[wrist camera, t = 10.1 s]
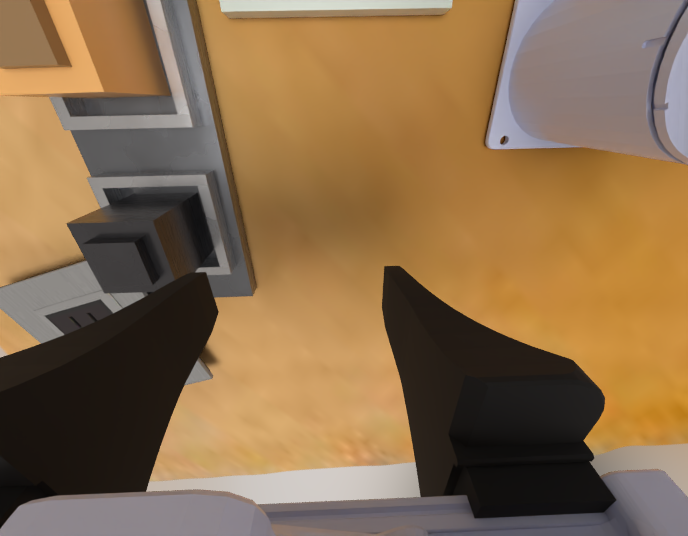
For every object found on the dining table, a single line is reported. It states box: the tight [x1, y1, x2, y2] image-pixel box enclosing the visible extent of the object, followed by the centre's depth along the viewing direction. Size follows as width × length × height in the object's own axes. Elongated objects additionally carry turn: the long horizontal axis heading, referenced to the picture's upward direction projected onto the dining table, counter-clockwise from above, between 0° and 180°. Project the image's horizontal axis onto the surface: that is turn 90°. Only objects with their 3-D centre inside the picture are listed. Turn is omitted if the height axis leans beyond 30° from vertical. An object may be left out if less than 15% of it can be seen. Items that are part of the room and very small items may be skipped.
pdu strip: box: [49, 0, 256, 297], centre depth 14 cm, size 22×8×7 cm, turn 1°
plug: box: [0, 0, 171, 98], centre depth 12 cm, size 4×4×6 cm
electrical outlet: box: [0, 260, 213, 385], centre depth 23 cm, size 13×10×2 cm
